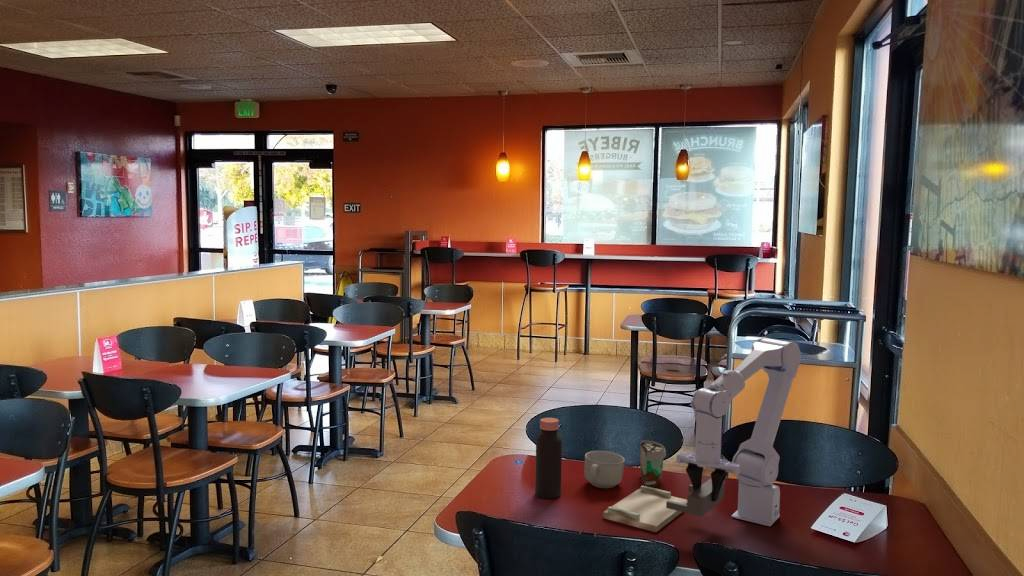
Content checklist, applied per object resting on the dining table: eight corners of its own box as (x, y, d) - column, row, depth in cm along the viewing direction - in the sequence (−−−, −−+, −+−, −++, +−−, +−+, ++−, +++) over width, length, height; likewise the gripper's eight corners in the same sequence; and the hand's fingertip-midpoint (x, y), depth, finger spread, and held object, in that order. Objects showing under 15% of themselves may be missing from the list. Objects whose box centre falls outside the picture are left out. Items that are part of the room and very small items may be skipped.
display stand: (689, 506, 194) (690, 495, 194) (656, 532, 178) (656, 521, 178) (639, 493, 202) (639, 484, 202) (602, 517, 186) (603, 507, 186)
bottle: (565, 497, 199) (566, 422, 197) (541, 500, 197) (542, 424, 195) (554, 488, 205) (555, 415, 203) (531, 491, 203) (532, 417, 201)
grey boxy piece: (723, 498, 183) (724, 481, 182) (701, 516, 171) (702, 499, 171) (689, 490, 187) (690, 474, 187) (666, 507, 176) (666, 491, 176)
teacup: (598, 475, 217) (598, 447, 216) (631, 484, 210) (632, 455, 209) (569, 488, 206) (570, 459, 205) (603, 498, 199) (604, 468, 198)
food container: (669, 489, 206) (670, 453, 205) (646, 489, 206) (647, 453, 205) (661, 474, 218) (662, 439, 217) (639, 473, 218) (640, 439, 217)
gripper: (671, 439, 177) (669, 496, 179) (733, 451, 169) (730, 510, 170) (683, 432, 183) (681, 487, 184) (743, 443, 175) (741, 501, 176)
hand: (706, 498), depth 178 cm, fingers closed on grey boxy piece, 3 cm apart
